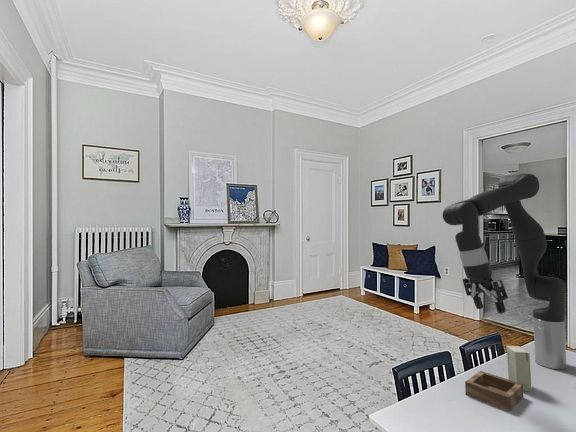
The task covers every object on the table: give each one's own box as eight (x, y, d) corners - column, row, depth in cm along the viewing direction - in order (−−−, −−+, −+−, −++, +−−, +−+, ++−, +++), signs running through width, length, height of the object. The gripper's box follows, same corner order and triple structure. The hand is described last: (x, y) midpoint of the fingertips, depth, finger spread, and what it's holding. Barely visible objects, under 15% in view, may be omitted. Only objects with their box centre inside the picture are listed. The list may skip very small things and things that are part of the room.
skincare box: (532, 391, 100) (530, 353, 101) (517, 390, 101) (515, 352, 102) (521, 382, 107) (520, 345, 107) (507, 381, 107) (506, 345, 108)
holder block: (481, 382, 107) (480, 370, 107) (523, 397, 97) (522, 384, 97) (465, 394, 99) (465, 381, 100) (509, 411, 90) (509, 397, 90)
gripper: (502, 259, 96) (519, 310, 95) (467, 258, 110) (482, 303, 109) (483, 266, 95) (500, 318, 94) (450, 264, 109) (464, 310, 107)
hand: (490, 310), depth 101 cm, fingers open, 8 cm apart
